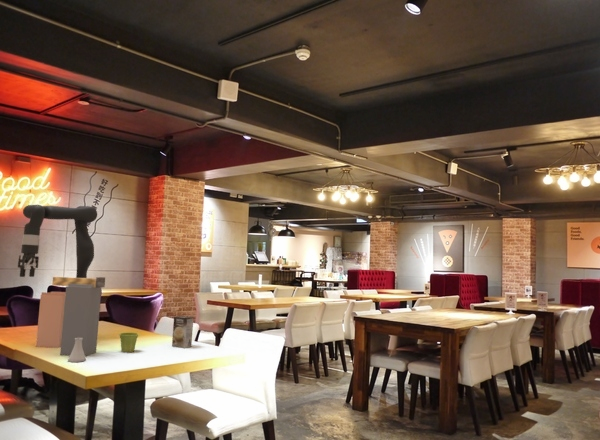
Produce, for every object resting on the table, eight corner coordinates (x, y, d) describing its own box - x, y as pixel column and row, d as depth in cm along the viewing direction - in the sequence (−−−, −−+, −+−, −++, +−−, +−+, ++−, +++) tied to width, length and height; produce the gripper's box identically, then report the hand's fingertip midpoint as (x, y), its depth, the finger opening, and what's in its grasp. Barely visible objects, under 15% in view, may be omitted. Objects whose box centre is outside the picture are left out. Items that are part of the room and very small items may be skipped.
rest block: (36, 346, 247) (41, 292, 250) (47, 343, 257) (52, 291, 260) (58, 347, 246) (63, 293, 249) (69, 344, 256) (73, 292, 259)
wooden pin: (51, 285, 235) (52, 275, 235) (57, 284, 240) (58, 275, 241) (99, 287, 233) (100, 277, 234) (104, 287, 238) (105, 277, 239)
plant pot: (135, 353, 241) (137, 335, 242) (116, 352, 240) (117, 335, 240) (138, 349, 250) (140, 332, 251) (119, 349, 249) (121, 332, 250)
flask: (78, 363, 213) (80, 339, 214) (64, 361, 215) (66, 338, 215) (89, 360, 220) (90, 337, 221) (74, 358, 222) (76, 336, 223)
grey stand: (60, 355, 228) (66, 283, 232) (72, 351, 239) (78, 283, 242) (84, 356, 228) (90, 285, 231) (96, 352, 238) (101, 284, 242)
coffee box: (171, 346, 264) (173, 316, 265) (178, 345, 270) (180, 315, 271) (184, 348, 260) (186, 318, 262) (192, 346, 266) (194, 317, 267)
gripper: (30, 243, 237) (26, 277, 235) (45, 245, 251) (41, 277, 249) (14, 243, 236) (11, 276, 235) (30, 244, 251) (27, 276, 249)
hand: (27, 276), depth 242 cm, fingers open, 8 cm apart
